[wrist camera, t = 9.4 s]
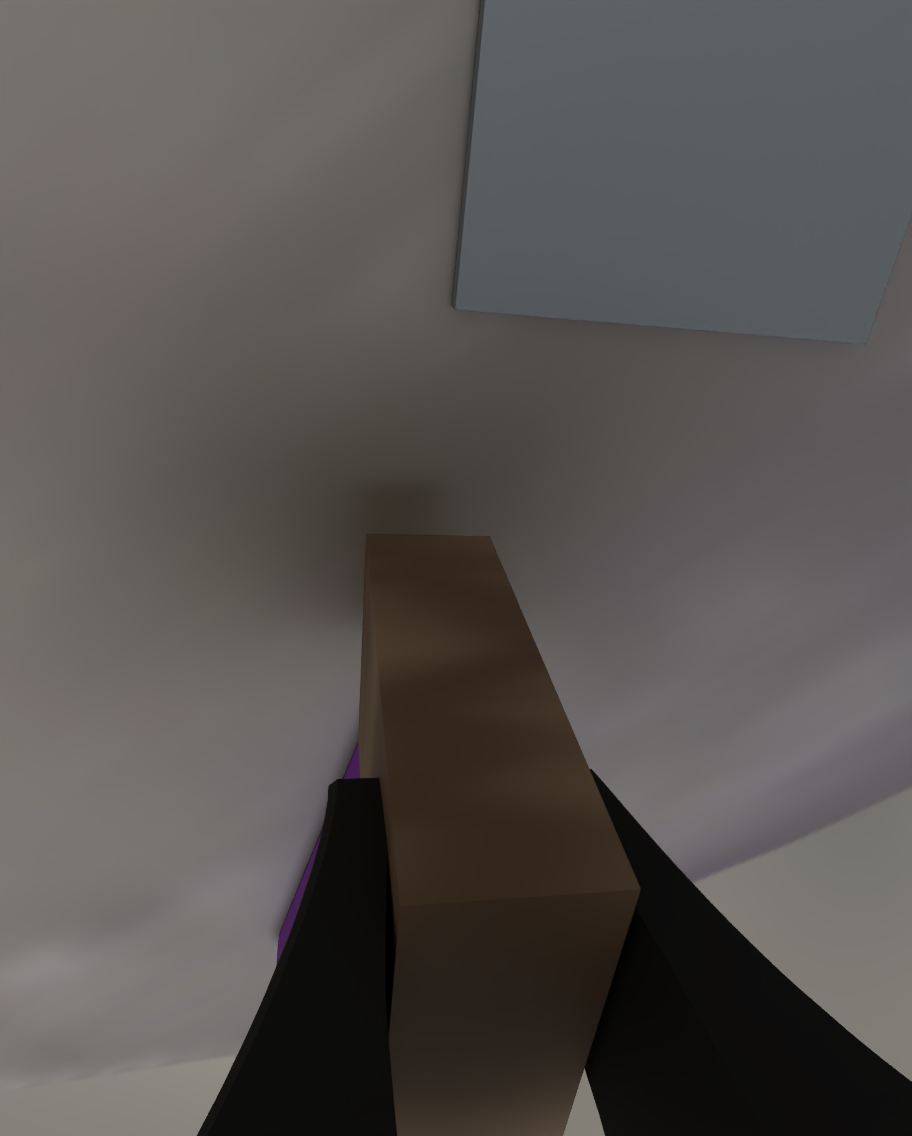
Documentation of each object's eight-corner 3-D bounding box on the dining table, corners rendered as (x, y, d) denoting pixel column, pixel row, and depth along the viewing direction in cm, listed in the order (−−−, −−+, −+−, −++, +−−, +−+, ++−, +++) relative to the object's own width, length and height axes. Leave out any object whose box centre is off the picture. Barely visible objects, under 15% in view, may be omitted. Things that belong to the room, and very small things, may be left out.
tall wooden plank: (489, 536, 14) (640, 888, 7) (464, 733, 16) (559, 1143, 10) (366, 534, 14) (400, 906, 7) (358, 736, 16) (377, 1167, 9)
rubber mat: (1046, -225, 13) (1071, -239, 13) (852, 340, 18) (866, 344, 17) (514, -366, 11) (522, -387, 11) (451, 306, 16) (455, 309, 15)
